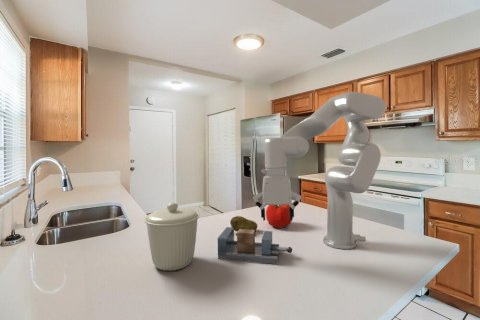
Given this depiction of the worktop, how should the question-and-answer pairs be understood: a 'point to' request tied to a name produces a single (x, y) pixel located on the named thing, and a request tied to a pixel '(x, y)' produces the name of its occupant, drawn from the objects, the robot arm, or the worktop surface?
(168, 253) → the canister
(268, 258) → the vise bed
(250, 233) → the walnut block
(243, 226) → the potato
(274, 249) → the sliding jaw
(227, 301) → the worktop surface
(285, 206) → the tomato
